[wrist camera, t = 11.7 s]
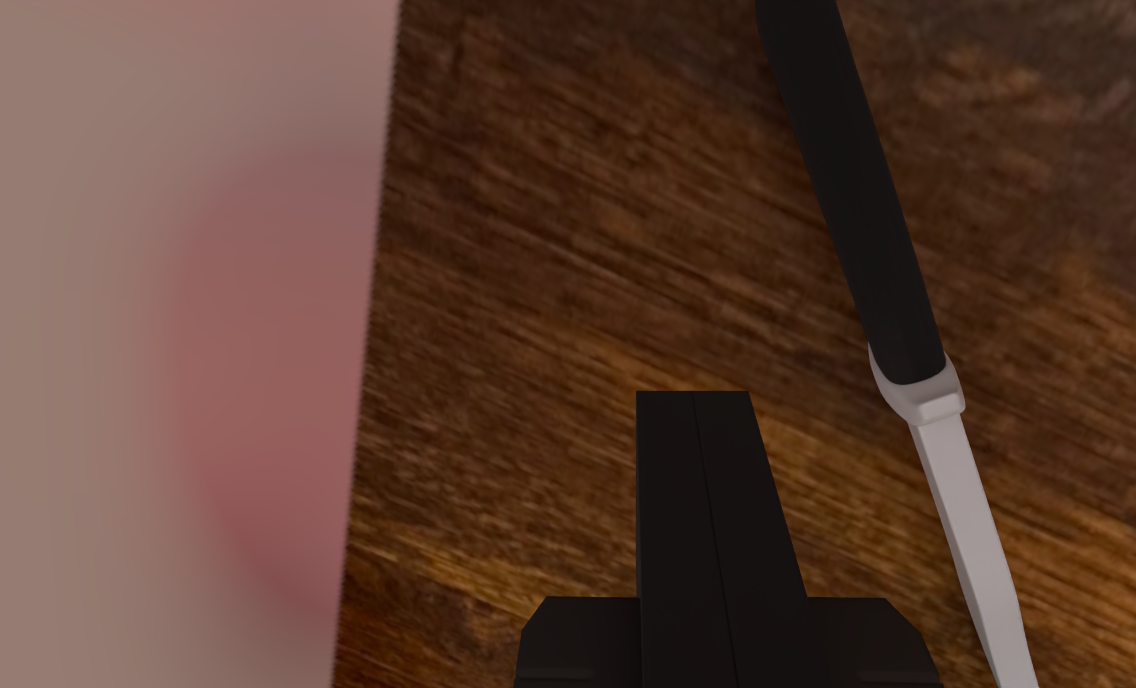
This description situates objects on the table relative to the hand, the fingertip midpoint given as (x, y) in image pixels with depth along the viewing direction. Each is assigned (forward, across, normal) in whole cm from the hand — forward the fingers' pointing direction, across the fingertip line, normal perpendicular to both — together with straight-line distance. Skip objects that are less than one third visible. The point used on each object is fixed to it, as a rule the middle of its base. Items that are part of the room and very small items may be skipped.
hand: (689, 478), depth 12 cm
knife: (+13, +7, -5) cm, 15 cm away
